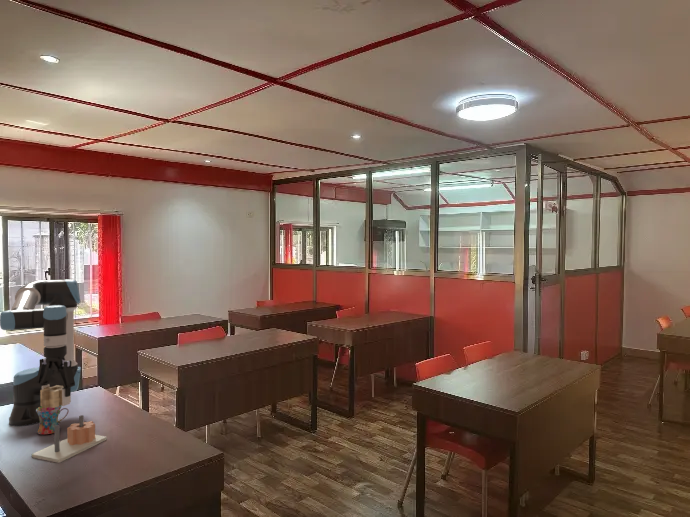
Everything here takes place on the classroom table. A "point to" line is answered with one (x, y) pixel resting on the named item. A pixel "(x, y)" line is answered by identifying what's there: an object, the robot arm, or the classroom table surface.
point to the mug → (48, 419)
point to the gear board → (71, 442)
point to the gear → (51, 396)
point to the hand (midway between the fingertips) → (55, 403)
